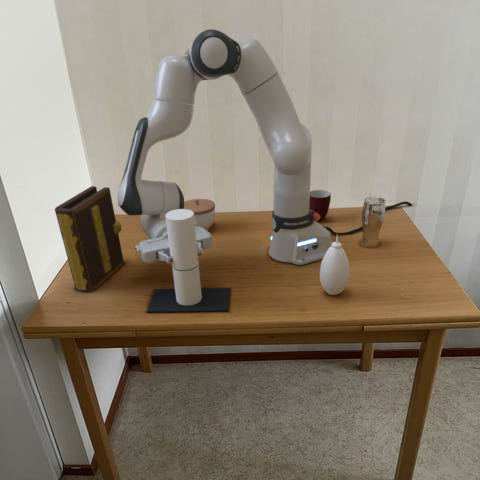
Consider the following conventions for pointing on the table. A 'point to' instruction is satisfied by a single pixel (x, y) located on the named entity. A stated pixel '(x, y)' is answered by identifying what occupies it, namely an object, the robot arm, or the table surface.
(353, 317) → the table surface
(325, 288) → the white bulb air blower
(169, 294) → the felt mat
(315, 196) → the mug
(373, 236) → the beer glass
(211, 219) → the lidded bowl
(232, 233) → the table surface
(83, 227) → the book
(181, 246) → the cylindrical container
